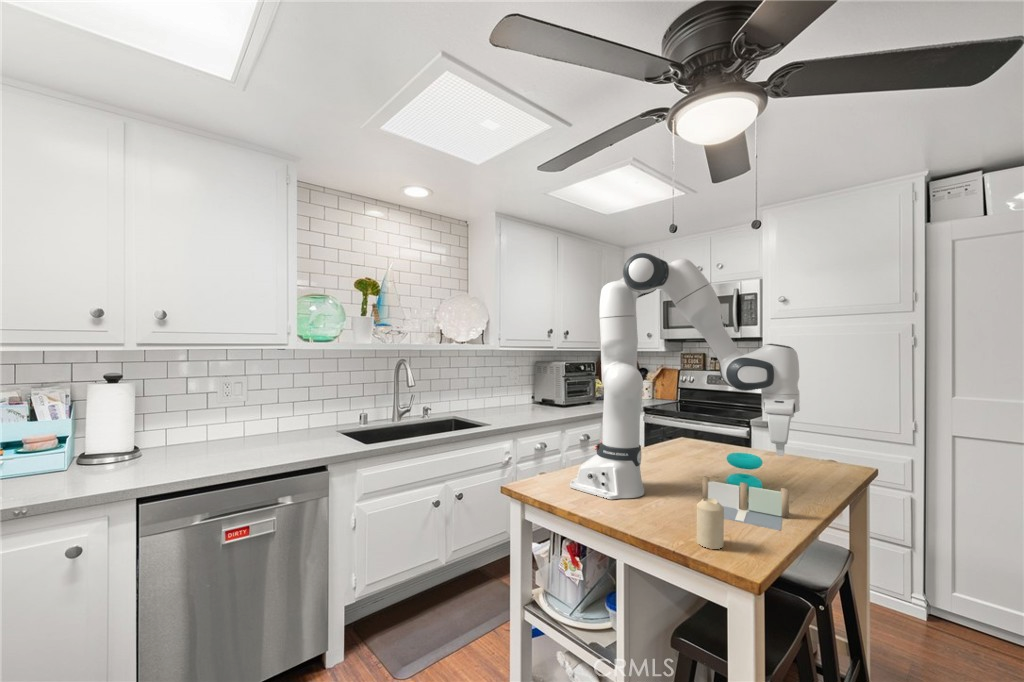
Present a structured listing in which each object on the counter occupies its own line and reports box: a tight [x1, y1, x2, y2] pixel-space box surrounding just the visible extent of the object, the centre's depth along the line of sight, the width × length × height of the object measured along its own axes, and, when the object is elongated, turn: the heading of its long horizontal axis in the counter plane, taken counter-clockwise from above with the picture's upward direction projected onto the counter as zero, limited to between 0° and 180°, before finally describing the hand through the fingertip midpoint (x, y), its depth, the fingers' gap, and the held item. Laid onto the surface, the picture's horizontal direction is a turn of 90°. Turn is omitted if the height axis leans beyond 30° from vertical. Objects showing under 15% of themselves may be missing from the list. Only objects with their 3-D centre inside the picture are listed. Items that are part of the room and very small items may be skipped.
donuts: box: [726, 452, 763, 492], centre depth 139 cm, size 10×10×10 cm
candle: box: [696, 498, 725, 550], centre depth 99 cm, size 6×6×10 cm
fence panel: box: [748, 486, 790, 519], centre depth 116 cm, size 9×2×7 cm, turn 56°
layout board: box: [722, 501, 783, 532], centre depth 118 cm, size 19×17×1 cm
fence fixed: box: [701, 475, 748, 510], centre depth 122 cm, size 11×2×7 cm, turn 57°
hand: (780, 454), depth 119 cm, fingers closed
